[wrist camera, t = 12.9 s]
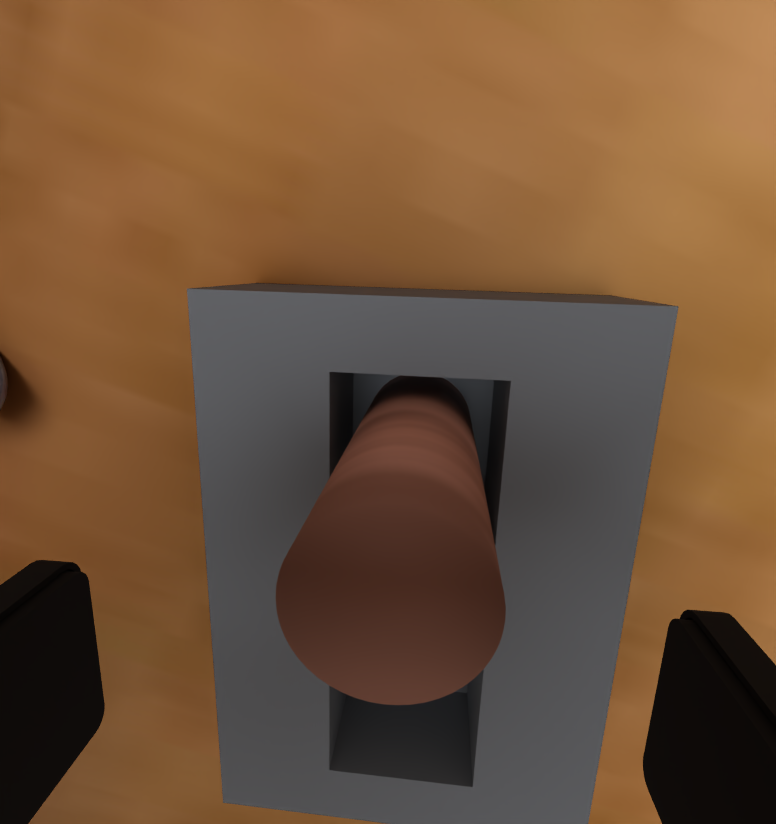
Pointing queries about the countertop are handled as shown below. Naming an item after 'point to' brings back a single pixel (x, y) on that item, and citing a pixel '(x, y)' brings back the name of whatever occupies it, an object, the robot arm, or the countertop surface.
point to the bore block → (510, 520)
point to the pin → (398, 556)
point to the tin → (3, 384)
